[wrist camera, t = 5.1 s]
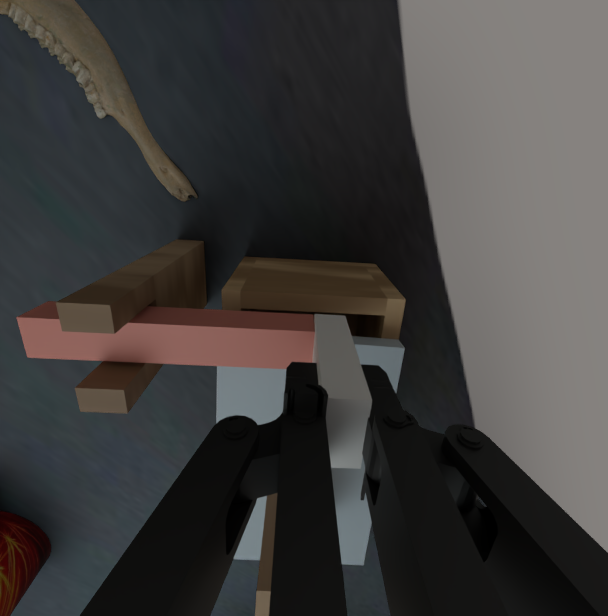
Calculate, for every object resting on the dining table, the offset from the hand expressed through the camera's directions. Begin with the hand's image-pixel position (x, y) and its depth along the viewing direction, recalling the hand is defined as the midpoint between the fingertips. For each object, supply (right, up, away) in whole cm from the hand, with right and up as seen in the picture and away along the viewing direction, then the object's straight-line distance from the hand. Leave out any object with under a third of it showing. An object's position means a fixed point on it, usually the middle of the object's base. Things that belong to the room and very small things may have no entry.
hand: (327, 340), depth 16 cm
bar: (-7, +1, +1) cm, 7 cm away
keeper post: (-10, +4, +9) cm, 14 cm away
